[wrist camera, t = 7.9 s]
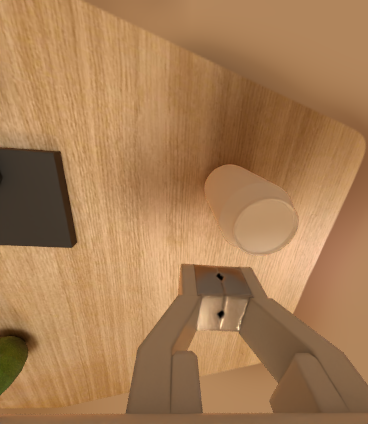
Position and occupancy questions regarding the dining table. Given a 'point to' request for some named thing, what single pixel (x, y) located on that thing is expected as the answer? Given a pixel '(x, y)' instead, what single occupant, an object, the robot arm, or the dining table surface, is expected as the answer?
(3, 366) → the avocado
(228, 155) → the dining table surface
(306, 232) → the dining table surface
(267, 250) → the beverage can
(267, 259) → the dining table surface
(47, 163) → the scale
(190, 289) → the robot arm
